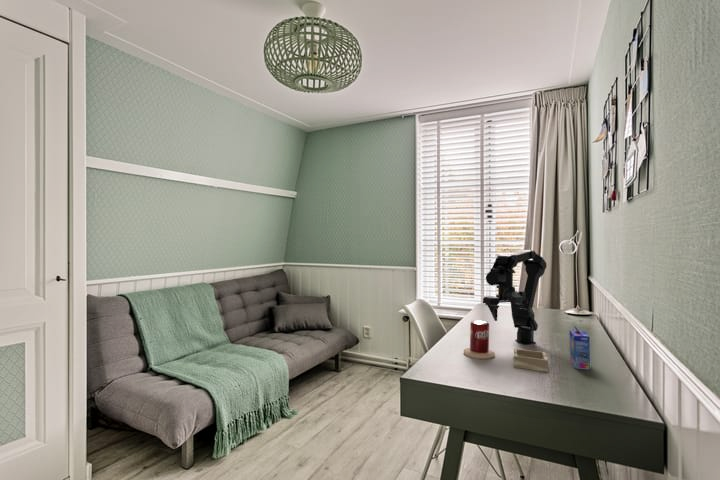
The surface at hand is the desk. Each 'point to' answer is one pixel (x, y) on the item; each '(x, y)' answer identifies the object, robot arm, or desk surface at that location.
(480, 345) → the soda can
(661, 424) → the desk surface
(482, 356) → the coaster
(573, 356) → the ink cartridge box
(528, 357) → the birch box
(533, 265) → the robot arm
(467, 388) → the desk surface
